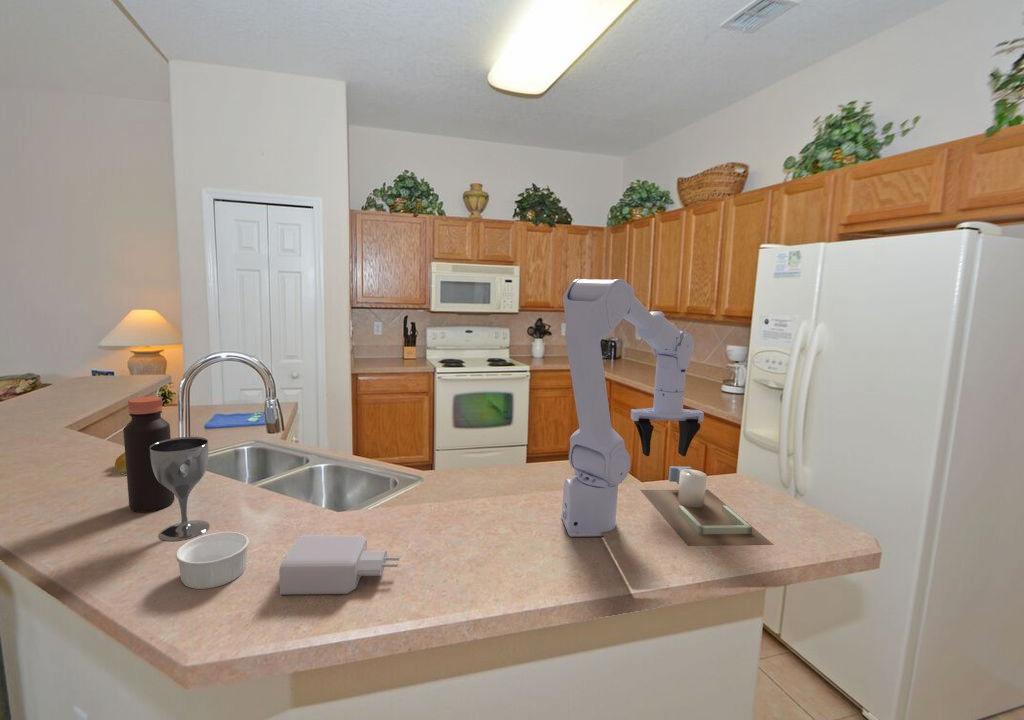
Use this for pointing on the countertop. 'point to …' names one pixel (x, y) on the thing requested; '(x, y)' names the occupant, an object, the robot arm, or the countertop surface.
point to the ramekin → (212, 559)
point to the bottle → (145, 454)
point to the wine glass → (180, 479)
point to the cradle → (740, 528)
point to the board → (701, 520)
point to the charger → (329, 564)
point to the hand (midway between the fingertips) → (664, 454)
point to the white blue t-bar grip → (689, 485)
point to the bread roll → (121, 464)
